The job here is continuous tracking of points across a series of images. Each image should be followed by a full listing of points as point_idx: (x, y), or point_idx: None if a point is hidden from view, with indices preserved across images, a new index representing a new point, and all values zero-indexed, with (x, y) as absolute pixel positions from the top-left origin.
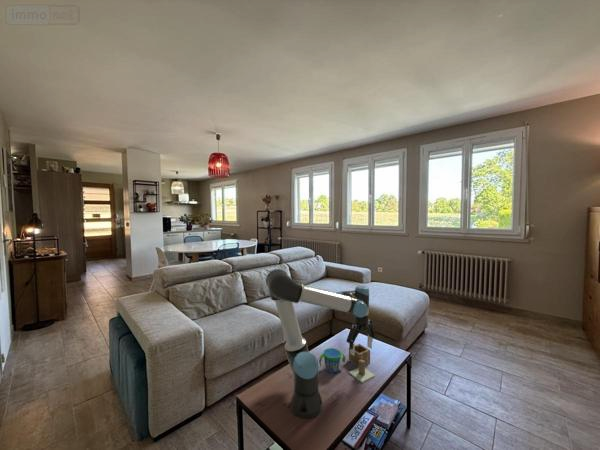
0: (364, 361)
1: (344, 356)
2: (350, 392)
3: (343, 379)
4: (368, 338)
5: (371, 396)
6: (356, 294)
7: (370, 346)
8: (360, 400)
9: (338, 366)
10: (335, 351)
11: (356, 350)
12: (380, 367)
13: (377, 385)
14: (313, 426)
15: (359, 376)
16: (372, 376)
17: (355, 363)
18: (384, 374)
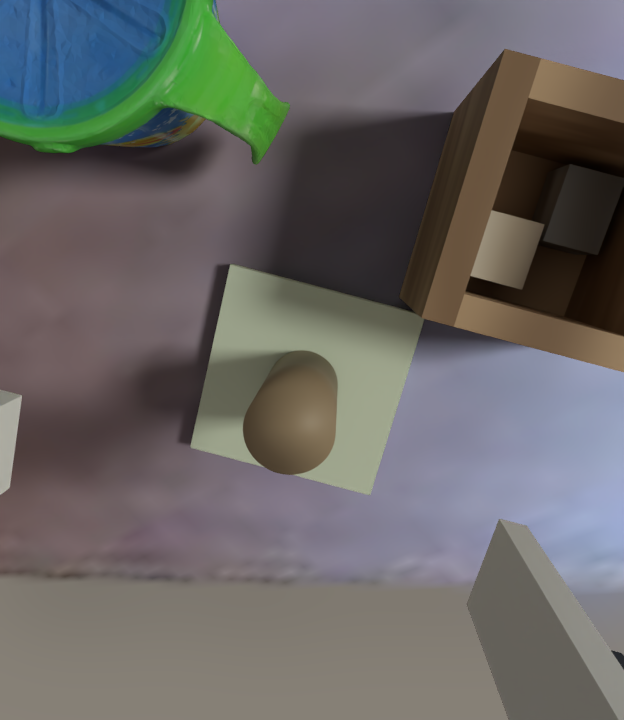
0: (315, 457)
1: (245, 139)
2: None
3: (108, 274)
4: (580, 713)
5: (111, 573)
6: None
7: (483, 623)
8: (7, 529)
9: (138, 145)
10: None
11: (608, 145)
12: (557, 466)
13: (268, 555)
14: None
15: (241, 389)
16: (335, 485)
17: (421, 232)
18: (465, 541)
